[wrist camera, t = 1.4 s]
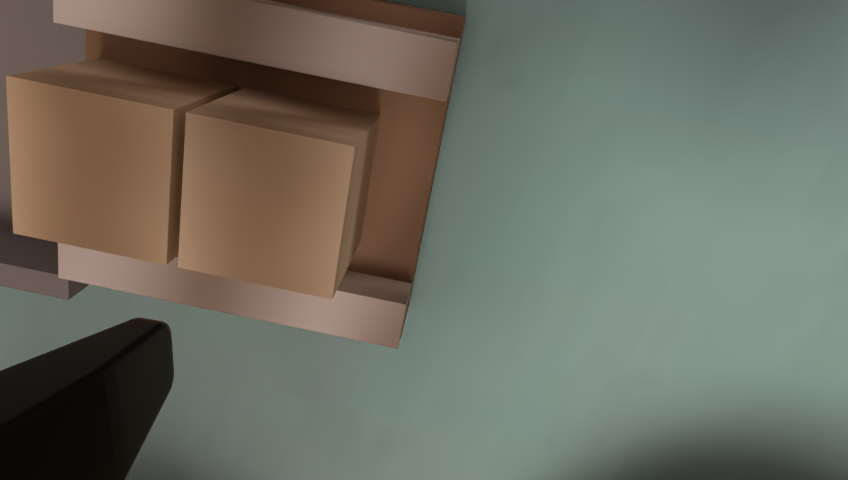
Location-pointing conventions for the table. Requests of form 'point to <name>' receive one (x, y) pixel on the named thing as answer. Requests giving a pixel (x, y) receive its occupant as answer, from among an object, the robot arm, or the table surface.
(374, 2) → the slot board
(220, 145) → the brown wooden cube
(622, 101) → the table surface
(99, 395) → the robot arm
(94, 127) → the light brown cube
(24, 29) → the tray
